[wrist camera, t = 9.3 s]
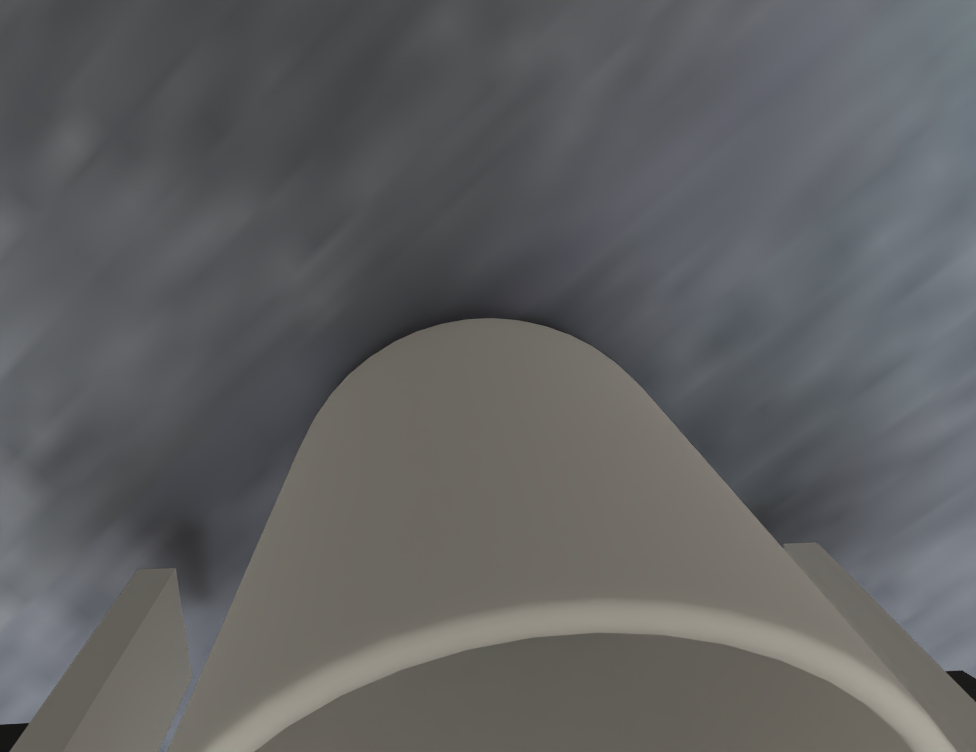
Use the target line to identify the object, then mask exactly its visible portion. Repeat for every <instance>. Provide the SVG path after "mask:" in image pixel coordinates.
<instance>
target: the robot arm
mask: <svg viewBox="0 0 976 752" xmlns="http://www.w3.org/2000/svg"><path fill="white" fill-rule="evenodd" d="M783 549H784V550H785V551H786V552H787V554H788V555H789V556H790V557H791V558H792V559H793V560H794V562H795V563H796V564H797V565H798V566H799V567H800V568H801V570H802V571H803V572H804V573H805V574H806V575H807V576H808V578H809V579H810V580H811V581H812V582H813V583H814V584H815V585H816V587H817V588H818V589H819V590H820V591H821V592H822V593H823V595H824V596H825V597H826V598H827V599H828V600H829V601H830V603H831V604H832V605H833V606H834V607H835V608H836V609H837V611H838V612H839V613H840V614H841V615H842V616H843V617H844V619H845V620H846V621H847V622H848V623H849V624H850V625H851V627H852V628H853V629H854V630H855V631H856V632H857V633H858V635H859V636H860V637H861V638H862V639H863V640H864V641H865V643H866V644H867V645H868V646H869V647H870V648H871V649H872V651H873V652H874V653H875V654H876V655H877V656H878V657H879V659H880V660H881V661H882V662H883V663H884V664H885V665H886V667H887V668H888V669H889V670H890V671H891V672H892V673H893V674H894V676H895V677H896V678H897V679H898V680H899V681H900V682H901V684H902V685H903V686H904V687H905V688H906V689H907V690H908V692H909V693H910V694H911V695H912V696H913V697H914V698H915V700H916V701H917V702H918V703H919V704H920V705H921V706H922V708H923V709H924V710H925V711H926V712H927V713H928V715H929V716H930V717H931V718H932V720H933V721H934V722H935V723H936V725H937V726H938V727H939V729H940V730H941V731H942V732H943V734H944V735H945V736H946V738H947V739H948V740H949V741H950V743H951V744H952V745H953V747H954V748H955V749H956V750H957V752H976V679H975V678H974V677H972V676H970V675H969V674H967V673H965V672H964V671H944V670H943V669H942V668H941V667H940V666H939V665H938V664H937V663H936V662H935V661H934V660H933V659H932V658H931V657H930V656H929V655H928V654H927V653H926V652H925V651H924V650H923V649H922V648H921V647H920V646H919V645H918V644H917V643H916V642H915V641H914V640H913V639H912V638H911V637H910V636H909V635H908V634H907V633H906V631H905V630H904V629H903V628H902V627H901V626H900V625H899V624H898V623H897V622H896V621H895V620H894V619H893V618H892V617H891V616H890V615H889V614H888V613H887V612H886V611H885V610H884V609H883V608H882V607H881V606H880V605H879V604H878V603H877V602H876V601H875V600H874V599H873V598H872V597H871V596H870V595H869V594H868V593H867V592H866V591H865V590H864V589H863V588H862V587H861V586H860V585H859V584H858V583H857V582H856V581H855V580H854V579H853V578H852V577H851V576H850V575H849V574H848V573H847V572H846V571H845V570H844V569H843V568H842V567H841V566H840V565H839V564H838V563H837V562H836V561H835V560H834V559H833V558H832V557H831V556H830V555H829V554H828V553H827V552H826V551H825V550H824V549H823V548H822V547H821V546H820V545H819V544H818V543H817V542H816V543H791V544H784V546H783ZM191 678H192V675H191V668H190V662H189V655H188V648H187V641H186V634H185V627H184V621H183V614H182V607H181V600H180V593H179V586H178V580H177V573H176V568H163V569H138V570H137V571H136V573H135V574H134V576H133V577H132V579H131V580H130V581H129V583H128V584H127V586H126V587H125V589H124V590H123V591H122V593H121V594H120V596H119V597H118V598H117V600H116V601H115V603H114V604H113V606H112V607H111V608H110V610H109V611H108V613H107V614H106V615H105V617H104V618H103V620H102V621H101V623H100V624H99V625H98V627H97V628H96V630H95V631H94V632H93V634H92V635H91V637H90V638H89V640H88V641H87V642H86V644H85V645H84V647H83V648H82V650H81V651H80V652H79V654H78V655H77V657H76V658H75V659H74V661H73V662H72V664H71V665H70V667H69V668H68V669H67V671H66V672H65V674H64V675H63V676H62V678H61V679H60V681H59V682H58V684H57V685H56V686H55V688H54V689H53V691H52V692H51V694H50V695H49V696H48V698H47V699H46V701H45V702H44V703H43V705H42V706H41V708H40V709H39V711H38V712H37V713H36V715H35V716H34V718H33V719H32V720H31V722H30V723H24V724H5V725H0V752H158V751H159V749H160V746H161V744H162V742H163V740H164V738H165V735H166V733H167V731H168V729H169V727H170V724H171V722H172V720H173V718H174V716H175V713H176V711H177V709H178V707H179V705H180V702H181V700H182V698H183V696H184V694H185V692H186V689H187V687H188V685H189V683H190V681H191Z"/></svg>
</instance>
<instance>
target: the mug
mask: <svg viewBox="0 0 976 752" xmlns="http://www.w3.org/2000/svg"><path fill="white" fill-rule="evenodd" d="M168 752H957V750H956V749H955V748H954V747H953V745H952V744H951V743H950V741H949V740H948V739H947V738H946V736H945V735H944V734H943V732H942V731H941V730H940V729H939V727H938V726H937V725H936V723H935V722H934V721H933V720H932V718H931V717H930V716H929V715H928V713H927V712H926V711H925V710H924V709H923V708H922V706H921V705H920V704H919V703H918V702H917V701H916V700H915V698H914V697H913V696H912V695H911V694H910V693H909V692H908V690H907V689H906V688H905V687H904V686H903V685H902V684H901V682H900V681H899V680H898V679H897V678H896V677H895V676H894V674H893V673H892V672H891V671H890V670H889V669H888V668H887V667H886V665H885V664H884V663H883V662H882V661H881V660H880V659H879V657H878V656H877V655H876V654H875V653H874V652H873V651H872V649H871V648H870V647H869V646H868V645H867V644H866V643H865V641H864V640H863V639H862V638H861V637H860V636H859V635H858V633H857V632H856V631H855V630H854V629H853V628H852V627H851V625H850V624H849V623H848V622H847V621H846V620H845V619H844V617H843V616H842V615H841V614H840V613H839V612H838V611H837V609H836V608H835V607H834V606H833V605H832V604H831V603H830V601H829V600H828V599H827V598H826V597H825V596H824V595H823V593H822V592H821V591H820V590H819V589H818V588H817V587H816V585H815V584H814V583H813V582H812V581H811V580H810V579H809V578H808V576H807V575H806V574H805V573H804V572H803V571H802V570H801V568H800V567H799V566H798V565H797V564H796V563H795V562H794V560H793V559H792V558H791V557H790V556H789V555H788V554H787V552H786V551H785V550H784V549H783V548H782V547H781V546H780V544H779V543H778V542H777V541H776V540H775V539H774V538H773V536H772V535H771V534H770V533H769V532H768V531H767V530H766V528H765V527H764V526H763V525H762V524H761V523H760V522H759V520H758V519H757V518H756V517H755V516H754V515H753V514H752V512H751V511H750V510H749V509H748V508H747V507H746V506H745V504H744V503H743V502H742V501H741V500H740V499H739V498H738V497H737V495H736V494H735V493H734V492H733V491H732V490H731V489H730V487H729V486H728V485H727V484H726V483H725V482H724V481H723V479H722V478H721V477H720V476H719V475H718V474H717V473H716V471H715V470H714V469H713V468H712V467H711V466H710V465H709V463H708V462H707V461H706V460H705V459H704V458H703V457H702V455H701V454H700V453H699V452H698V451H697V450H696V449H695V447H694V446H693V445H692V444H691V443H690V442H689V441H688V439H687V438H686V437H685V436H684V435H683V434H682V433H681V431H680V430H679V429H678V428H677V427H676V426H675V425H674V423H673V422H672V421H671V420H670V419H669V418H668V417H667V415H666V414H665V413H664V412H663V411H662V410H661V409H660V408H659V406H658V405H657V404H656V403H655V402H654V401H653V400H652V398H651V397H650V396H649V395H648V394H647V393H646V392H645V390H644V389H643V388H642V387H641V386H640V385H639V384H638V383H637V382H636V381H635V380H634V379H633V378H632V377H630V376H629V375H628V374H627V373H626V372H625V371H624V370H623V369H622V368H621V367H620V366H619V365H618V364H616V363H615V362H614V361H613V360H611V359H610V358H608V357H607V356H606V355H604V354H603V353H601V352H600V351H599V350H597V349H596V348H594V347H593V346H591V345H589V344H587V343H585V342H583V341H581V340H579V339H577V338H575V337H573V336H571V335H569V334H566V333H563V332H561V331H558V330H555V329H552V328H549V327H547V326H543V325H538V324H534V323H529V322H524V321H520V320H511V319H498V318H482V319H465V320H460V321H454V322H449V323H443V324H439V325H436V326H433V327H429V328H426V329H423V330H420V331H417V332H415V333H412V334H410V335H408V336H406V337H404V338H401V339H399V340H397V341H395V342H393V343H391V344H390V345H388V346H387V347H385V348H383V349H382V350H380V351H379V352H377V353H376V354H374V355H372V356H371V357H369V358H368V359H367V360H366V361H364V362H363V363H362V364H361V365H360V366H358V367H357V368H356V369H355V370H354V371H352V372H351V373H350V374H349V375H348V376H347V377H346V378H345V379H344V380H343V381H342V382H341V384H340V385H339V386H338V387H337V388H336V389H335V390H334V391H333V392H332V393H331V395H330V396H329V398H328V399H327V401H326V402H325V403H324V405H323V406H322V408H321V409H320V411H319V412H318V414H317V415H316V417H315V418H314V420H313V422H312V424H311V426H310V428H309V430H308V432H307V434H306V436H305V438H304V440H303V442H302V444H301V446H300V448H299V450H298V452H297V454H296V457H295V459H294V461H293V464H292V466H291V468H290V470H289V473H288V475H287V477H286V480H285V482H284V484H283V487H282V489H281V491H280V494H279V496H278V498H277V500H276V503H275V505H274V507H273V510H272V512H271V514H270V517H269V519H268V521H267V523H266V526H265V528H264V530H263V533H262V535H261V537H260V540H259V542H258V544H257V547H256V549H255V551H254V553H253V556H252V558H251V560H250V563H249V565H248V567H247V570H246V572H245V574H244V577H243V579H242V581H241V583H240V586H239V588H238V590H237V593H236V595H235V597H234V600H233V602H232V604H231V607H230V609H229V611H228V613H227V616H226V618H225V620H224V623H223V625H222V627H221V630H220V632H219V634H218V636H217V639H216V641H215V643H214V646H213V648H212V650H211V653H210V655H209V657H208V660H207V662H206V664H205V666H204V669H203V671H202V673H201V676H200V678H199V680H198V683H197V685H196V687H195V690H194V692H193V694H192V696H191V699H190V701H189V703H188V706H187V708H186V710H185V713H184V715H183V717H182V719H181V722H180V724H179V726H178V729H177V731H176V733H175V736H174V738H173V740H172V743H171V745H170V747H169V749H168Z"/></svg>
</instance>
